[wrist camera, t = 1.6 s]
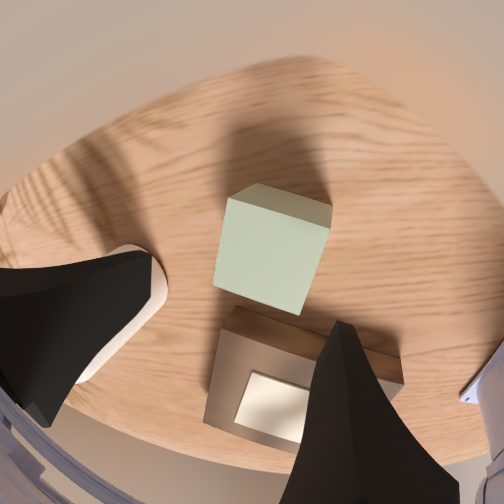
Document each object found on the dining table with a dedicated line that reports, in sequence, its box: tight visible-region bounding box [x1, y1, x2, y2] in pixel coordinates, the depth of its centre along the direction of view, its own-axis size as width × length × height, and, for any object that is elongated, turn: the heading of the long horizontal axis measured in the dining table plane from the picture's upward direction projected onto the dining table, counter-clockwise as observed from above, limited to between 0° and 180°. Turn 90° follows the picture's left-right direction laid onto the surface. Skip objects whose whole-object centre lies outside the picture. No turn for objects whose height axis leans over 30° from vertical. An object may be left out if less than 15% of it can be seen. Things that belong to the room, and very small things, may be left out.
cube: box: [212, 183, 333, 315], centre depth 16 cm, size 5×5×5 cm
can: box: [75, 245, 168, 384], centre depth 19 cm, size 6×6×12 cm
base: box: [203, 306, 404, 454], centre depth 22 cm, size 14×14×3 cm
